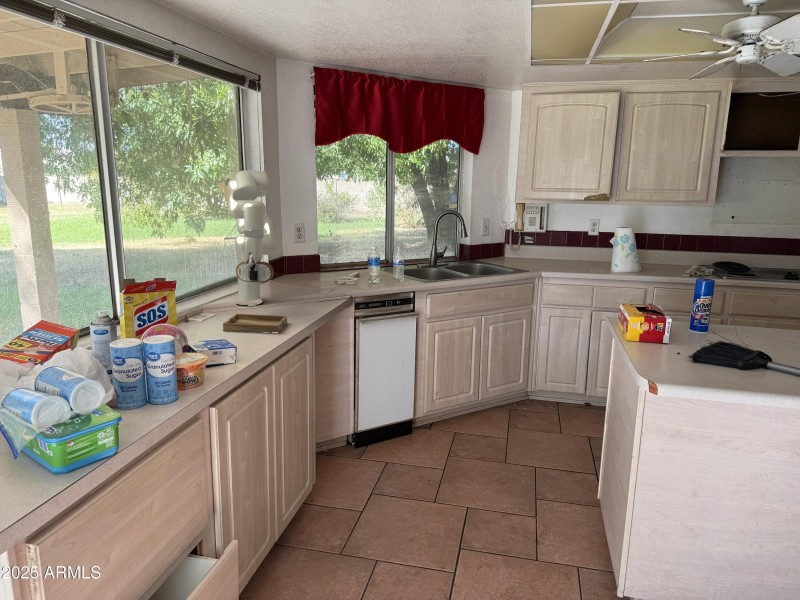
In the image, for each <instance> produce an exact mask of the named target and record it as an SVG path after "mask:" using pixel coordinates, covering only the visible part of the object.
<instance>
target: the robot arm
mask: <svg viewBox="0 0 800 600" xmlns="http://www.w3.org/2000/svg"><path fill="white" fill-rule="evenodd" d="M270 185H271V179H270V176H269V174H268V173H267V172H266V171H264V170H252V169H251V170H248V169H246V170H245V169H244V170H241V171H239V172H237V173H236V176H235V177H234V178H231V179H229V181H228V182H227V193H228V209H229V214H230V216H231V217H232V218H233V219H234V220H235V223H236V230H237V232H238V233H239V234H238V235H236V237H235V238H234V247H235V252H236V253H235V254H236V258H237V259H236V261H237V262H236V263H237V266H238V264H240V263H241V262H242V261H244V262H245V263H248V262H249V263H248V266H249V279H250V280H255V281H257V280H258V271H257V263H258V262H259V261H260V262H262V261H263V259H264V258H263V257H264V256H269V255H273V254H274V253H275V252H276V248H277V247H276V246H277V245H276V237H275V230H274V224H273V220H272V217H271V216H270V215H268V214H267V206H266V205H265V203H264V202H263V201H261V200H257V198H263V197H266V195H267V194H268V192H269V190H270ZM253 262H255V263H253ZM254 265H255V266H254ZM237 288H238V289H237V291H238V292H237V293H238V295H237V296H238V298H237V299H239V300H243V301H253V300H257V299H261V282H245V281H242V280H240V279H239V278H238V277H237ZM255 306H256V305H255V304H251V305H248V306H247V307H255Z"/></svg>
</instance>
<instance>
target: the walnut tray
mask: <svg viewBox="0 0 800 600" xmlns="http://www.w3.org/2000/svg"><path fill="white" fill-rule="evenodd" d="M287 324H288V316H287V315H272V314H271V315H269V314H268V315H267V314H251V313H250V314H248V313H246V314H245V313H235V314H233V315H232V316H231V317H229V318H228V319H227V320H226V321H224V322H223V323H222V332H228V333H229V332H231V331H232V332H233V333H249V332H269V333H272V332H279V331H280V330H281V329H282V328H283V329H284V328H285V326H286V325H287ZM283 329H282V330H283ZM282 330H281V331H282ZM281 331H280V332H281ZM232 332H231V333H232ZM280 332H279V333H280ZM269 333H268V334H269Z"/></svg>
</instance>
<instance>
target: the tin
mask: <svg viewBox="0 0 800 600" xmlns="http://www.w3.org/2000/svg"><path fill="white" fill-rule="evenodd" d="M248 263H249V262H248ZM248 263H245V262H244V261H242V262H241V263H240V264H238V265H237V266H236V268H235V274H236V276H237V279H238V278H239V279H240V280H242V281H245V282H260V284H261V283H263V284H264V283H265V284H266V283H268V282H269V281H271V280H272V279H273V277H274V274H275V270H274V267H273V266H272V265H271V264H270V263H269V262H267V261H259V262H258V263H257V271H258V280H257V281H255V280H250V279H249V266H248ZM253 263H255V262H253ZM254 266H255V265H254Z"/></svg>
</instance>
